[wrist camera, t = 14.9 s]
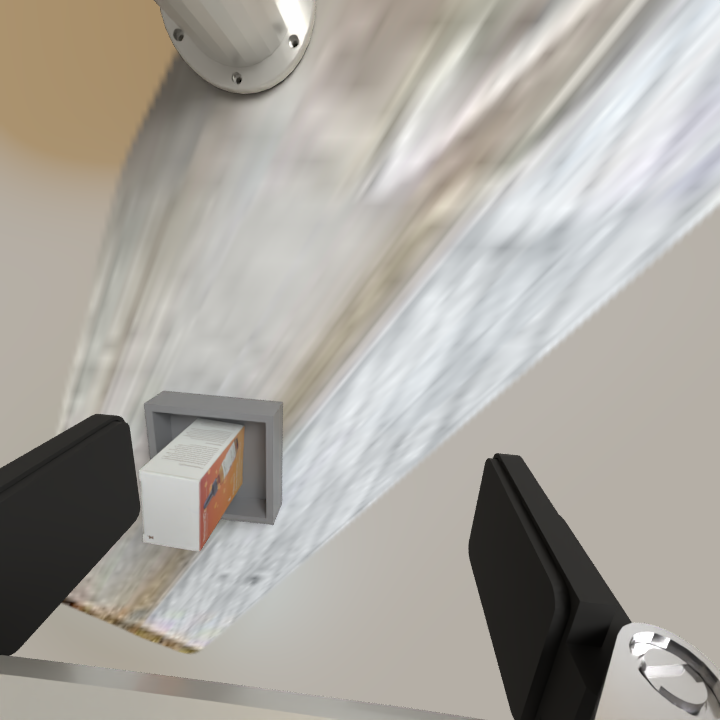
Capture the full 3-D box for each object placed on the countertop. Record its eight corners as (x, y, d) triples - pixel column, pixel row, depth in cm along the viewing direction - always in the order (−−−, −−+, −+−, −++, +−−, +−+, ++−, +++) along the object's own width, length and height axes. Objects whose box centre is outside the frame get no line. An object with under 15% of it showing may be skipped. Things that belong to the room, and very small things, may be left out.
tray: (163, 390, 41) (143, 403, 37) (282, 402, 40) (273, 416, 37) (173, 492, 45) (156, 512, 41) (281, 503, 44) (273, 524, 41)
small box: (243, 483, 43) (200, 554, 33) (197, 475, 43) (140, 545, 33) (246, 423, 41) (200, 481, 31) (197, 415, 41) (136, 470, 31)
